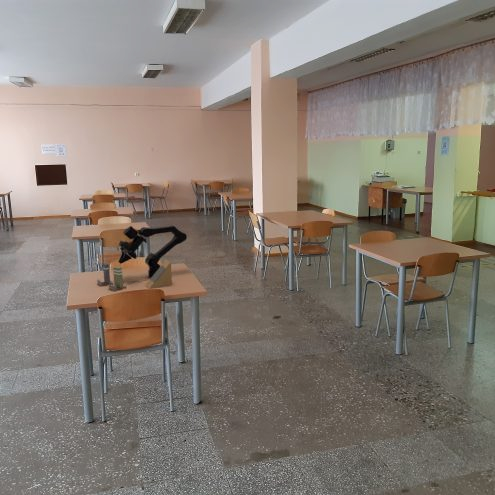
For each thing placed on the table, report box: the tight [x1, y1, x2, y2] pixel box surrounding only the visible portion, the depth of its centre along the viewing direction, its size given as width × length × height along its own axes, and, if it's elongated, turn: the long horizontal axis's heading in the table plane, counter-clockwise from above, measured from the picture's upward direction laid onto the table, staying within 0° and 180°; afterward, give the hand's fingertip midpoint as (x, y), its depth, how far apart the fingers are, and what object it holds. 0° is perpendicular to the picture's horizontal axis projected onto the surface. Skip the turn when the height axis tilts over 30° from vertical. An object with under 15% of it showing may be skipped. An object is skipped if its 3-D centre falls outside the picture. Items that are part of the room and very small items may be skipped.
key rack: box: [96, 279, 127, 292], centre depth 291 cm, size 10×22×3 cm, turn 45°
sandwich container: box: [144, 259, 173, 290], centre depth 291 cm, size 9×15×15 cm, turn 119°
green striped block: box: [112, 266, 124, 288], centre depth 286 cm, size 3×5×12 cm, turn 57°
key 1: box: [102, 262, 111, 284], centre depth 295 cm, size 3×5×12 cm, turn 31°
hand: (119, 262), depth 298 cm, fingers open, 3 cm apart
